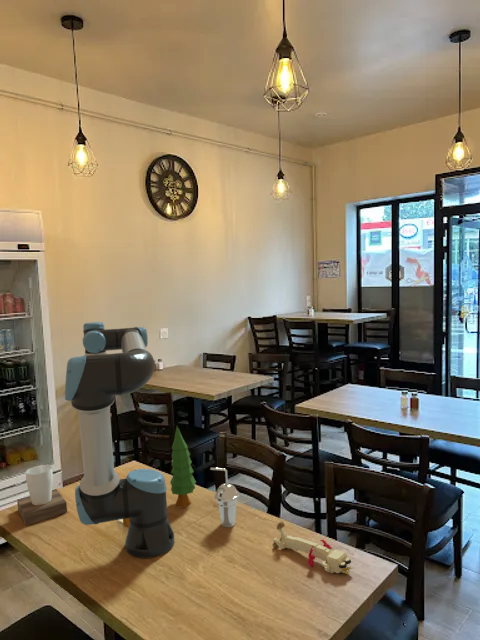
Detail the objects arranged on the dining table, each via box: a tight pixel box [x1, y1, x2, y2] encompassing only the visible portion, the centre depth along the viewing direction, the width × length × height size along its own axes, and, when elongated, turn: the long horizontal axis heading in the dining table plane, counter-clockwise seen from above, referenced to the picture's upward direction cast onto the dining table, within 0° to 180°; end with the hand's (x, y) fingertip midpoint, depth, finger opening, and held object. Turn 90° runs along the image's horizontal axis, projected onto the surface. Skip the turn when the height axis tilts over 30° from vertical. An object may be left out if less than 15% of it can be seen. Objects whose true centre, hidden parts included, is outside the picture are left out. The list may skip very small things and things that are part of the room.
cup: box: [25, 464, 54, 505], centre depth 173 cm, size 9×9×12 cm
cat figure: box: [272, 520, 353, 575], centre depth 138 cm, size 10×9×25 cm
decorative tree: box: [170, 426, 197, 508], centre depth 175 cm, size 10×9×30 cm
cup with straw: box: [209, 467, 241, 528], centre depth 159 cm, size 8×9×20 cm
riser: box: [16, 488, 68, 526], centre depth 174 cm, size 14×14×4 cm
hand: (100, 418), depth 179 cm, fingers open, 13 cm apart
